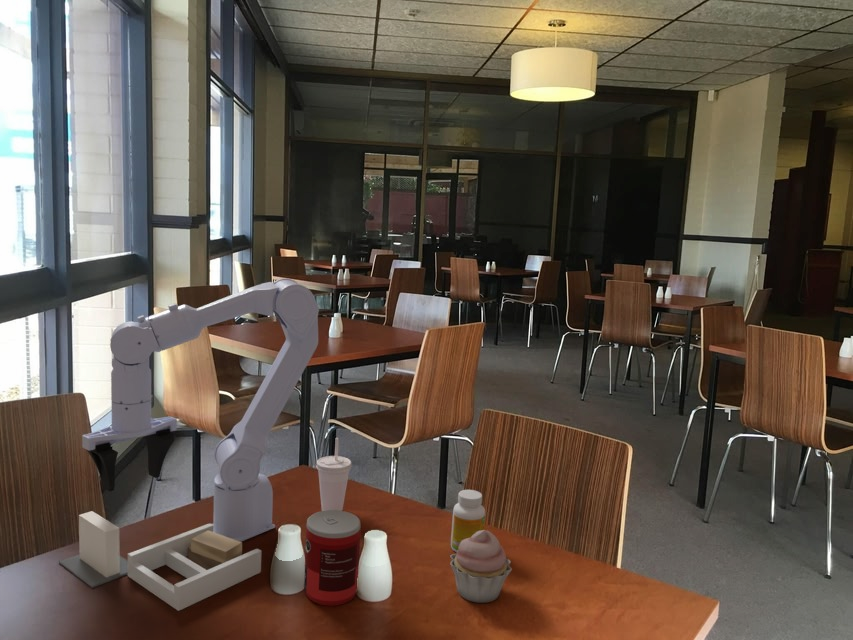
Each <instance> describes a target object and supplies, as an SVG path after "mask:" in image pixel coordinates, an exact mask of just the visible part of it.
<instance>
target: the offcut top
mask: <svg viewBox="0 0 853 640" xmlns="http://www.w3.org/2000/svg"><path fill="white" fill-rule="evenodd" d="M191 551H192V552H194V553H197V554H200V555H202V556H205V557H207V558H210V559H213V560H215V561H218V562H221V563H225V562H227V561H229V560H232V559H234V558H236V557H239V556H241V555H243V541H242V542H239V541H237V540H234V539H231V538H228V537H225V536H223V535H220V534H217V533H214V532H211V531H209V530H208V531H206V532H204V533H202V534H200V535H198V536H196V537H194V538H192V539H191Z"/></svg>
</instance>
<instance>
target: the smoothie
mask: <svg viewBox="0 0 853 640" xmlns="http://www.w3.org/2000/svg"><path fill="white" fill-rule="evenodd" d="M334 443H335V444H334V455H327V456H323V457H320V458H318V459H317V460H316V465H315V467H316V469H317V471H318V473H317V474H318V481H319V484H318V485H319V493H320V495H319V496H320V505H321V511H326V510H340V511H343V507H344V502H345V498H346V497H345V496H346V492H347V491H346V490H347V485H348V479H349V473H350V471H351V469H352V460H351V459H350V458H348V457H345V456H340V455H339V438H338V437H335V442H334Z"/></svg>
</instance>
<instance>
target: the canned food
mask: <svg viewBox="0 0 853 640" xmlns="http://www.w3.org/2000/svg"><path fill="white" fill-rule="evenodd" d="M305 527H306V528H305V548H304V549H305V554H304V584H303V587H304V592H305V595H306V596H307V598H308V599H309V600H310V601H311V602H313V603H315V604H318V605H321V606H326V607H327V606H328V607H334V606H340V605H343V604H346V603H348V602H350V601H352V600H353V599H354V598H355V596H356V593H357V592H358V591H357V590H358V587H357V578H358V579H359V568H360V567H359V564H360V549H361V547H360V546H361V520H360V518H359V517H358V516H357V515H356V514H353V513H351V512H348V511H345V510H342V511H340V510H326V511H322V510H321V511H317V512H315V513H313V514H311V515H310V516H309V517H308V518H307V519H306V526H305Z"/></svg>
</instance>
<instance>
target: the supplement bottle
mask: <svg viewBox="0 0 853 640" xmlns="http://www.w3.org/2000/svg"><path fill="white" fill-rule="evenodd" d="M482 504H483V494H482V493H481V492H480V491H477V490H475V489H463V490H460V491H459V492H458V495H457V503H456V504H455V505H454V506H453V509H452V510H453V511H452V519H451V521H452V522H451V534H450V535H451V536H450V549H452V551H454V552H455V554H457V551H458V550H459V545H460V543H461V541H462V540H464V539H466V538H471V536H472V535H474V534H475V533H476V532H478V531H482V530H485V520H486V519H485V518H486V510H485V507H484V506H483V505H482Z"/></svg>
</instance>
